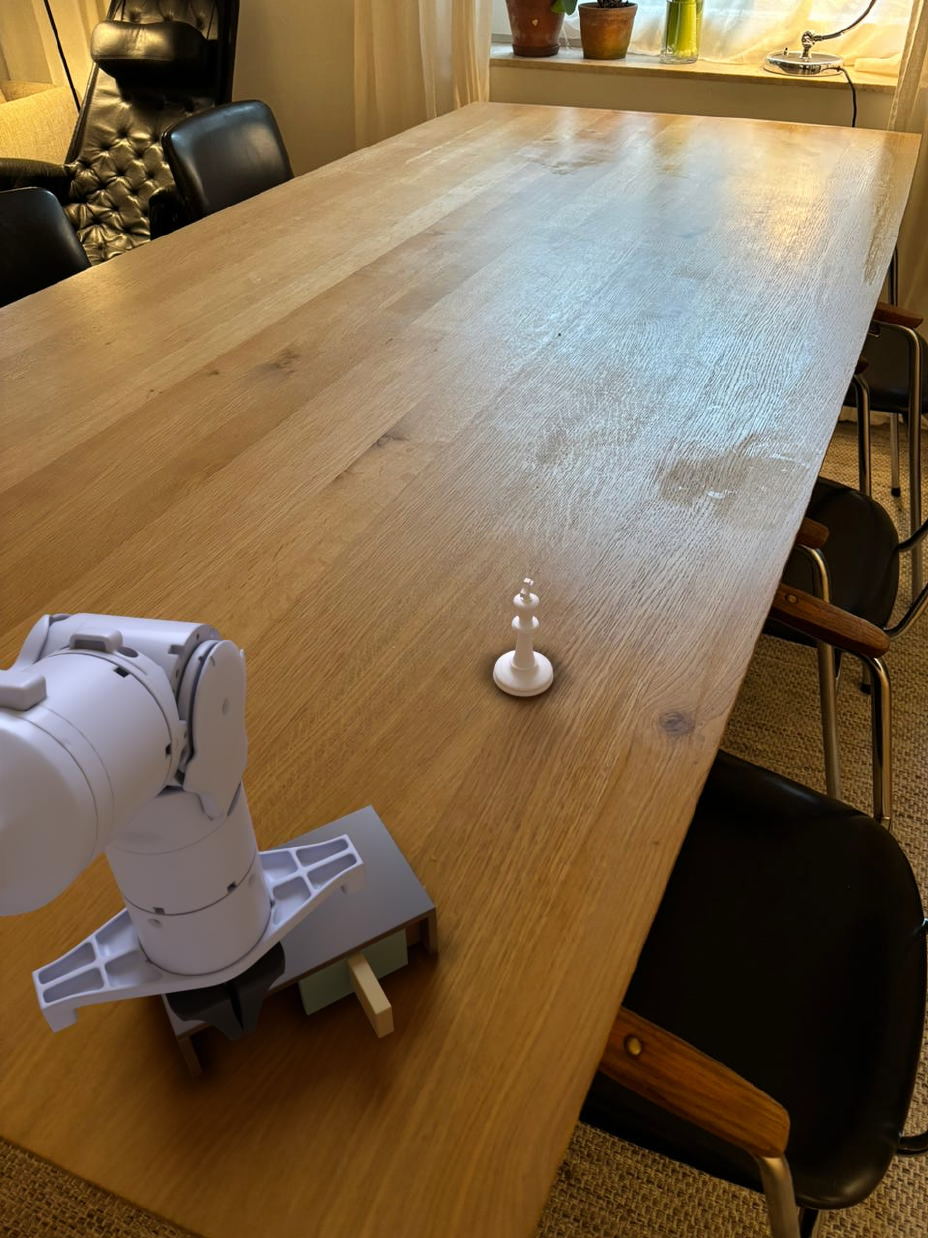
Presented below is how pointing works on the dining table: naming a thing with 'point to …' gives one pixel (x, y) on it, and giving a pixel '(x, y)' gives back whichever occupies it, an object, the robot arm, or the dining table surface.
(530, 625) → the chess piece
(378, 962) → the sliding door
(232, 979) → the robot arm
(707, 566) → the dining table surface
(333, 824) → the cabinet
